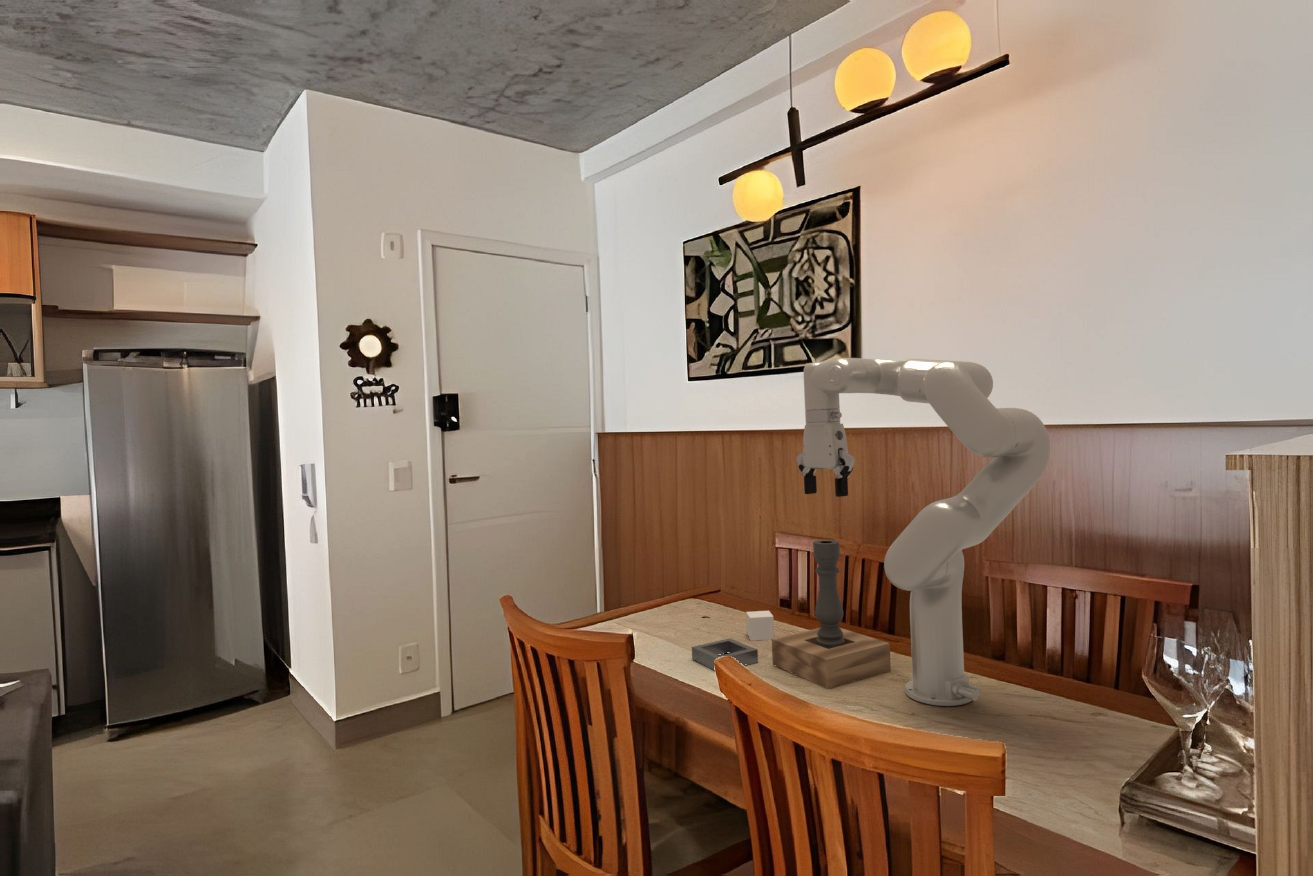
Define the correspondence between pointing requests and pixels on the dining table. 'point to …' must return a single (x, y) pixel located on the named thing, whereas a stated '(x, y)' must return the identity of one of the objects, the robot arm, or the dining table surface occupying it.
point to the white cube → (760, 625)
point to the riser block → (831, 657)
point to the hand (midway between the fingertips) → (825, 494)
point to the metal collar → (711, 650)
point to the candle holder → (828, 594)
